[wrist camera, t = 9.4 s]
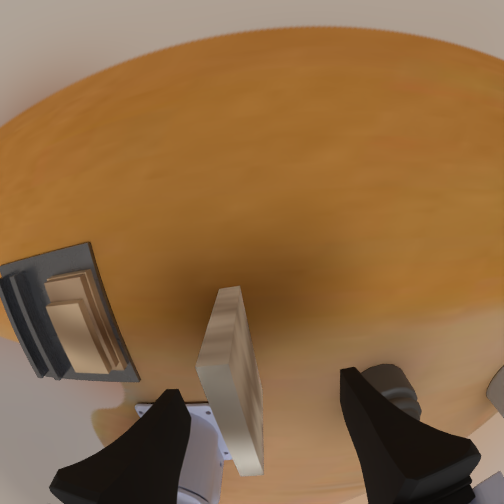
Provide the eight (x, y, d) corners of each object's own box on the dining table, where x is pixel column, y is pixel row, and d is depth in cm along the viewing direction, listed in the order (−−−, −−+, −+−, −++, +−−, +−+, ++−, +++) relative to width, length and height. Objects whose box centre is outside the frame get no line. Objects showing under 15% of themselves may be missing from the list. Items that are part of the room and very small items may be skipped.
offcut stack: (127, 364, 22) (117, 381, 20) (88, 364, 22) (77, 379, 20) (90, 268, 20) (74, 279, 17) (52, 276, 20) (35, 286, 18)
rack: (140, 379, 23) (133, 393, 21) (47, 374, 24) (38, 384, 22) (90, 241, 20) (76, 248, 18) (1, 265, 20) (-12, 271, 18)
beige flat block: (262, 389, 23) (263, 474, 14) (245, 391, 23) (241, 476, 14) (240, 285, 20) (228, 363, 12) (219, 288, 20) (195, 367, 12)
